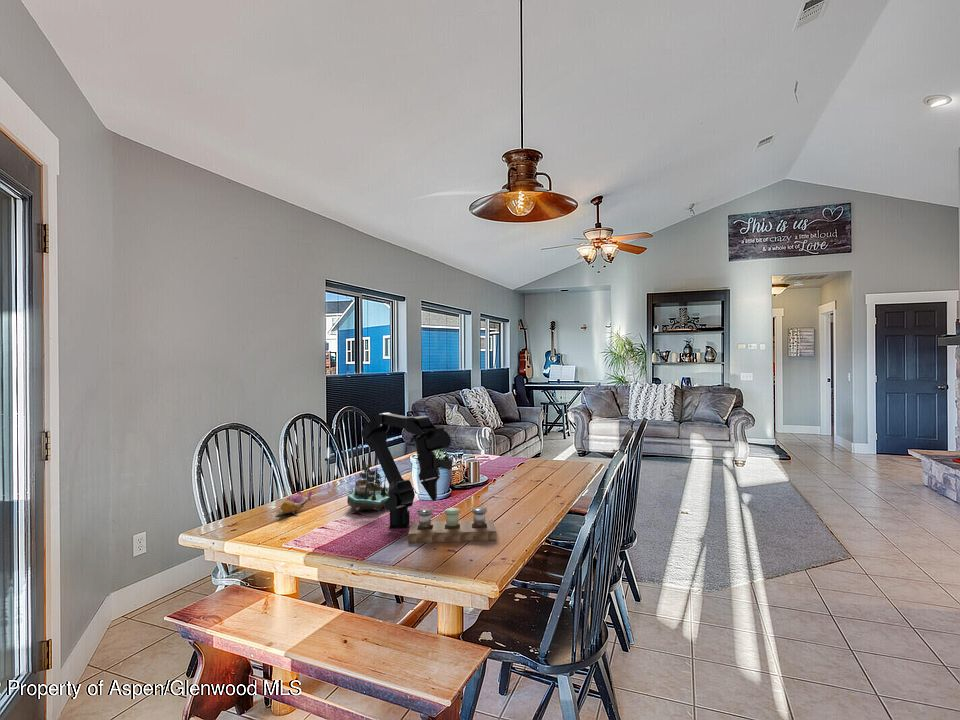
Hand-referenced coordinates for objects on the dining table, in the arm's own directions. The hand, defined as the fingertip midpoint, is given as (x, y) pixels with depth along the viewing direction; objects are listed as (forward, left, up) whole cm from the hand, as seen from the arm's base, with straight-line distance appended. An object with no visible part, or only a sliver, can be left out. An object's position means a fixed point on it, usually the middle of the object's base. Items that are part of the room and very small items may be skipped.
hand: (434, 499), depth 176 cm
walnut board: (+6, 0, -12) cm, 13 cm away
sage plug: (+6, 0, -8) cm, 10 cm away
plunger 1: (-3, 0, -8) cm, 9 cm away
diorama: (-26, +38, -12) cm, 48 cm away
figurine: (-58, +38, -13) cm, 70 cm away
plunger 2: (+15, 0, -8) cm, 17 cm away
